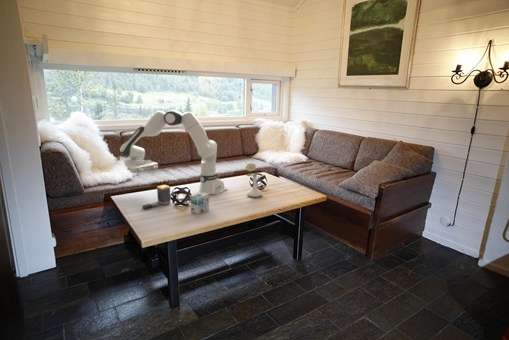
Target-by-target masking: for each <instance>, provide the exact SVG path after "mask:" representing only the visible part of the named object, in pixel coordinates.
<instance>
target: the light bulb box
mask: <svg viewBox="0 0 509 340" xmlns="http://www.w3.org/2000/svg"><path fill="white" fill-rule="evenodd" d="M208 210H210V194H207V193H204V192H198V193H195V194H193V195H190V212H192V213H194V214H197V215H199V214H201V213H203V212H206V211H208Z"/></svg>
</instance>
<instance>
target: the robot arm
mask: <svg viewBox="0 0 509 340" xmlns="http://www.w3.org/2000/svg"><path fill="white" fill-rule="evenodd" d="M167 125H169V126H170V127H171V126H173V127H174V126H179V125H182V126H184V129H186V131H187V134H189V136H190V138H191V140H192V141H193V143H194V145H195V148H196V149H197V154H198V156H199V157H200V158H201V160H200V161H201V162H200V174H199V176H200V177H199V178H200V185H199V191H198V193H200V192H204V193H207V194H209V195H218V194H221V193H222V192H225V191H227V190H228V187H226V186H225V183H224V181H223V180H221V179H220V178H219V177H220V175H221V174H220V173H216V170H217V169H216V162H217V154H218V153H217V152H218V144H217V142H216V141H215V140H212V139H209V137H208V135H207V133H206V129H205V128H204V126H203V125H202V123H201V122H200V121H199V119H198V118H197V116H196V115H195V114H194V113H193V112H191V111H186V112H184V113H183V112H182V111H181V110H180V109H179V110H178V109H171V110H170V109H169V110H168V111H166V112H164V111H163V110H157V111H155V112H154V114H153V115H152V116H151V117H150V119H149V120H148V121H147V122H146V123H145V124H144V125H141V126H139V127H138V128H137V129H136V130H135V131H134V132H133V133H132V134H131V135H130V136H129V138H128V139H126V141H124V142H123V143H122V144H121V145H120V147H119V153H120V155H121V156H122V157H126V158H125V160H124V161H123V162H124V166H125V167H126V170H127V171H129V173H132V174H137V173H144V172H146V171H147V172H148V171H151V170H157V169H158V168H159V164H158V162H156V161H152V160H151V159H146V157H147V152H146V150H145V148H144V147H140V146H138V145H135V144H136V143H137V142H138V141H139V139H141V138H143V137H156V136H158V135H160V133H161V132H163V129H164V128H165V127H166V126H167Z"/></svg>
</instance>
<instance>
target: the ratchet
mask: <svg viewBox="0 0 509 340" xmlns="http://www.w3.org/2000/svg"><path fill="white" fill-rule="evenodd" d="M170 204H171V200H170V201H167V202H164V203H162V202H160V201H158V200H157V202H153V203H146V204H143V205H142V209H143V210H145V211H146V210H151V209H153V208H157V207H160V206H167V205H170Z"/></svg>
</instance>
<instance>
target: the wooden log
mask: <svg viewBox="0 0 509 340" xmlns="http://www.w3.org/2000/svg"><path fill="white" fill-rule="evenodd" d="M156 193H157V202H158V201H160V202H162V203H164V202H167V201H170V202H171V186H169V185H167V184H162V185H161V184H160V185H157V186H156Z"/></svg>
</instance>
